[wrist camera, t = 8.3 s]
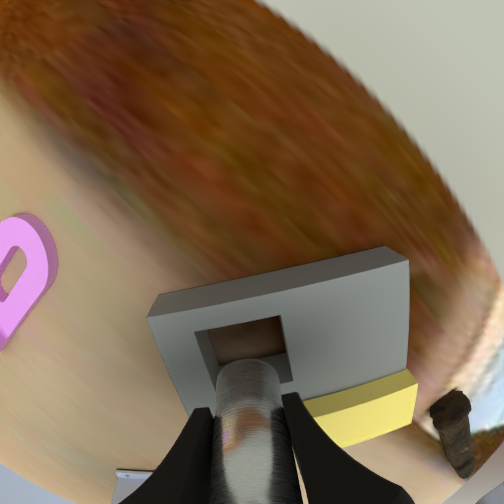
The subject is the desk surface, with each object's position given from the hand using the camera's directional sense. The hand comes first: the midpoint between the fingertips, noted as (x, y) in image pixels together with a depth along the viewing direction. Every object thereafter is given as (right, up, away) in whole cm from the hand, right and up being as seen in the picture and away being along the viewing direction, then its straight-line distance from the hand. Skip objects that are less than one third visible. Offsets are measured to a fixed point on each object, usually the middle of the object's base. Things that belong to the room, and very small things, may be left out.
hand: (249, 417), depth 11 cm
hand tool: (+23, -14, +13) cm, 30 cm away
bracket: (-18, +5, +6) cm, 20 cm away
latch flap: (+7, -3, +6) cm, 9 cm away
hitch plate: (+3, 0, +8) cm, 8 cm away
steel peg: (0, +1, +2) cm, 2 cm away
